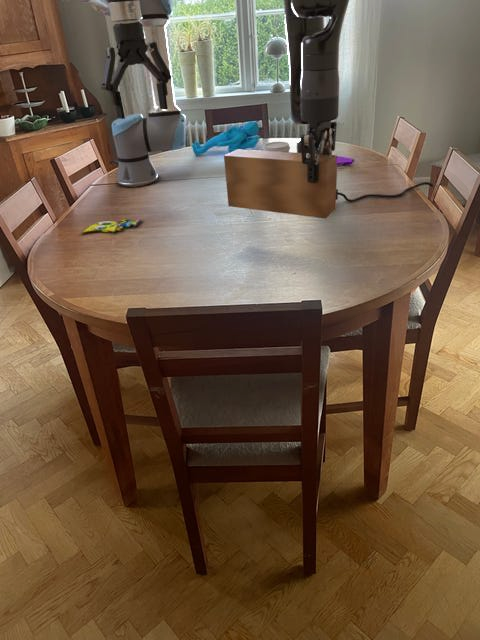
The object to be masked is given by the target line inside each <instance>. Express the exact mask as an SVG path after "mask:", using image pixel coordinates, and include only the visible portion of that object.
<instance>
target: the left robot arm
mask: <svg viewBox="0 0 480 640" xmlns="http://www.w3.org/2000/svg"><path fill="white" fill-rule="evenodd" d="M61 1H62V2H67V1H68V2H72V0H61ZM78 1H79V2H82V3H84V4H87V5H89V6H91V8H92V9H94V11H95V12H97V13H99V14H102V15H104V16H107V17H110V19H111V22H112V23H114V24H113V25H112V30H113V36H114V40H115V43H116V47H113V46H107V47H105V57H106V58H105V63H104V68H103V69H104V70H103V75H102V80H101V85H100V89H101V90H103V91H107V92H108V93H109V96H110V101H111V104H112V106H114V107H115V111H116V116H117V118H116V119H115V120H113V121H112V122H111V132H112V138H113V142H114V146H115V151H116V156H117V160H118V161H117V160H114V159H112V160H110V161H109V164H110V165H111V164H113V163H115V164H116V165H117V169H118V170H117V183H118V186H120V187H123V188H124V187H125V188H136V187H137V188H138V187H145V186H147V185H148V186H149V185H151V184H154V183H156V182H157V181H158V180H159V176H158V172H157V169H156V168H155V166H154V163H153V161H152V159H151V156H150V153H152V152H153V153H155V152H165V151H175V150H181V149H183V148H184V147H185V146H186V141H187V137H186V136H187V121H186V120H187V119H186V115H185V114H183V113H182V112H181V109H180V108H179V107H178V105H176V100H175V99H176V98H175V92H174V84H173V82H174V81H173V76H172V75H173V74H172V69H171V67H172V66H171V60H170V53H169V46H168V45H169V44H168V37H167V29H166V27H167V26H168V24H169V23H170V18H169V16H171V15H172V14H174V13H173V7H172V1H171V0H78ZM117 56H118V57H119V59H118V61H117V66H116V68H115V64H116V58H117ZM141 64H142V65H143V66H144V67H145V73H146V80H147V87H148V93H149V94H148V95H149V101H150V106H151V107H150V108H149V110H148V111H147V114H148V117H144V116H143V114H142V113H133V114H129V115H125V110H124V104H123V100H122V95H121V91H118V88H119V86H120V84H121V81H122V79H123V76H124V74H125V72H126V70H127V68H128V67H129V66H135V65H141ZM114 69H115V70H114Z"/></svg>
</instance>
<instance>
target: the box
mask: <svg viewBox="0 0 480 640" xmlns="http://www.w3.org/2000/svg"><path fill="white" fill-rule="evenodd" d="M315 156H316V154H315ZM337 156H338V155H337V154H332V155H325V154H321V155H320V157H319V163H318V182H317V183H309V182H308V181H307V165H306V164H302V153H297V152H291V151H289V152H277V151H263V150H261V149H259V150H258V149H236V150H234V151H232V152H230V151H229V152H228V153H226V154H224V155H223V163H224V172H225V173H224V174H225V183H226V192H227V205H228V207H231V208H239V209H245V210H246V209H247V210H255V211H263V212H270V213H277V214H278V213H279V214H286V215H287V214H288V215H296V216H301V217H310V218H319V219H327V218H328V217H330V215H331V214H333V212H335V211H336V210H337V200H336V189H337V185H338V184H337V179H338V167H337ZM306 157H307V153H306Z"/></svg>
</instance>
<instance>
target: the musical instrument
mask: <svg viewBox="0 0 480 640" xmlns="http://www.w3.org/2000/svg"><path fill="white" fill-rule="evenodd" d="M354 162H355V158H351V157H346V156H340V155H337V168H338V167H341V166H352V164H353V163H354Z"/></svg>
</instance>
